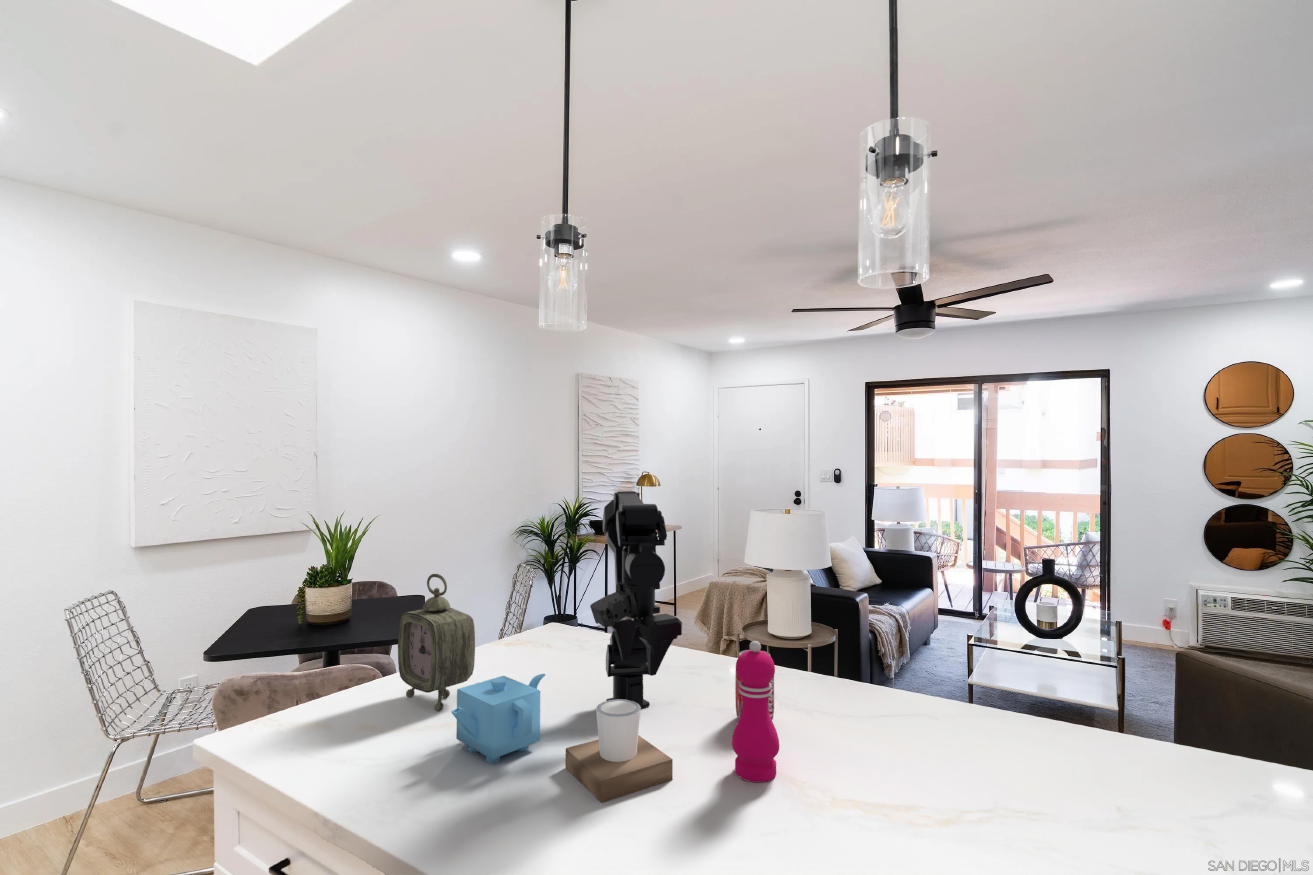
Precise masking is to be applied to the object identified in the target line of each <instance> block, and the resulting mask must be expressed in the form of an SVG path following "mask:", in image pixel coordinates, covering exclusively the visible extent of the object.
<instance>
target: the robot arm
mask: <svg viewBox="0 0 1313 875" xmlns="http://www.w3.org/2000/svg"><path fill="white" fill-rule="evenodd" d="M602 532H603V533H605V537H606V538H605V539H606V540H605V541H606V544H607V546H608V547H609V549H610V550H611V551H612V552H613V555H614V556H613V557H614V558H613V560H614V576H615V577H614V579H615V592H612V593H610V594H607V595H605V596H603V597H601V598H600V599H598V600H596V601H594V602H593V603H591V604H590V605H589V607H590V610H591V613H592V616H593V619H594V622H595V624H597V625H601V626H602V627H604V628H611V629H612V633H611V634H610V637H609V643H608V644H607V645H606V651H605V652H606V653H605V671H606V676H607V677H608V678H610V677H612V697H610V698H606V700H605V701H609V700H617V699H620V700H630V701H634V702H636V703H638V704H639V705H640V707H641V709H642V708H646V707H649V706H651V704H650V702H649V701H648V700H646V699H644V675H647V676H651V677H652V676H656V675H657V673H658V671H659V669H660V667H661V664H662V663H663V660H664V658H665V656H666V655H667V652H668V650H669V649H670V647H671V645H672V643H673V642H674V641H675V640H676V639H678V636H682V635H683V622H682V621H681V620H680V619H679V618H678V617H676V616H673V615H671V614H669V613H661V606H658V605H656V590H660V589H661V582H662V580H663V578H664V576H665V573H666V565H665V563H664V561H663V559H662V558H661V557H660V555H659V554H658V553H657V547H658V546H662V547H663V546H665V545H666V544H665V543H666V541H667V537H668V533H667V528H666V522H665V518H664V516H663V515H662V511H661V510H660V509H658V506H657V505H656V504H655V503H644V502H643V500H642V499H641V498H640V492H637V491H636V490H635V491H630V490H627V491H619V490H618V491H616V492H614V493H613V499H612V500H611V501H610V502H608V503H607V504H606V505H605V506H604V508H603V515H602ZM659 613H661V614H659Z"/></svg>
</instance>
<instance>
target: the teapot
mask: <svg viewBox="0 0 1313 875" xmlns="http://www.w3.org/2000/svg"><path fill="white" fill-rule="evenodd" d="M545 676H546V673H540V674H536V675H535V676H533V677H532V679H531V680H530V682H529V684H526V683H523V682H521V681H518V680H516V679H513V678H510V677H509V676H506V675H501V676H498V677H494V678H491V679H488V680H483V681H481V682H476V683H474V684H470V685H466V686H463V687H460V688H457V689H456V708H455V709H454V710H451V714H452V715H453V717H454V718H455V719H456V733H455V735H456V736H455V737H456V740H457V741H459V742H461V743H463V744H465V745H466V746H468V747H467V749H466V750H467V751H468V752H470V753H471V752H472V753H473V752H475V753H476V752H478V753H479V754H482V755H483V756H485V762H487V763H490V764H493V763H497V762H499V761H500V760H501V757H502V756H505V755H508V754H511V753H512V752H515V751H517V752H524V751H528V750H529V746H531V745H533V744H535V743H538V742H540V741H541V690H540V689H538V686H539V683H540V682H541V680H542V679H544V677H545Z"/></svg>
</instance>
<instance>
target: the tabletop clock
mask: <svg viewBox="0 0 1313 875" xmlns="http://www.w3.org/2000/svg"><path fill="white" fill-rule="evenodd" d="M432 578H438V579H439V580H440V581H442V583H443V586H444V589H443V591H441V592H440V588H439V587H435V588H434V589H432V587H431V584H430V581H431V580H432ZM447 584H448V583H447V581H446V578H444V577H443V576H442V575H441V574H439V573H432V574H430V575H429V576H428V578H427V580H426V587H427V589H428V591H429V593H430V594H431V595H433V596H431V597H429V598H428V599H427V600H425V602H424V603H423V606H422V609H417V610H411V611H407V612H403V613H401V614H400V618H399V621H398V623H399V624H398V637H397V665H398V671H399V678H400V679H401V680H402V681H403V682H404V683H405V684H407V685H408V686H410V687H411V688H409V689H407V690H406V693H405V696H406V697H407V698H413V697H414V695H415V690H417V691H420V692H423V693H432V692H436V691H437V693H438V696H437V702H436V703H435V704H434V710H435V711H436V712H441V711H443V709H444V703H442V700H443V699H442V698H444V699H448V698H449V696H450V695H451V692H450V690H449V689H447V688H449V687H452V686H455V685H459V684H462V683H465V682H467V681H468V680H469V679H470V677H471V676H473V674H474V673H473V672H474V671H475V670H474V669H475V660H476V658H475V656H476V631H475V630H476V628H475V623H474V618H472V616H471V615H469V614H468V613H466V612H463V611H460V610H458V609H455V608H454V607H451V605H450V602H449V601H448V599H446V597H444V595H445V594H446V593H447V589H448V585H447Z"/></svg>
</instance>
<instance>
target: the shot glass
mask: <svg viewBox="0 0 1313 875" xmlns="http://www.w3.org/2000/svg"><path fill="white" fill-rule="evenodd" d="M641 711H642V708H641V707H640V705H639V704H638V703H636V702H634V701H630V700H620V699H617V700H609V701H606V700H605V701H602V702H600V703H599V704H597V706H596V708H595V713H596V714H595V715H596V723H597V726H596V727H597V736H598V738H597V739H599V750H600V755H601V757H602V758H603V759H605V760H608V761H612V762H622V761H627V760H630V759H632V758H633V757H635V756H636V753H637V743H638V735H639V730H640V729H639V728H640V720H641V719H640V718H641Z"/></svg>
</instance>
